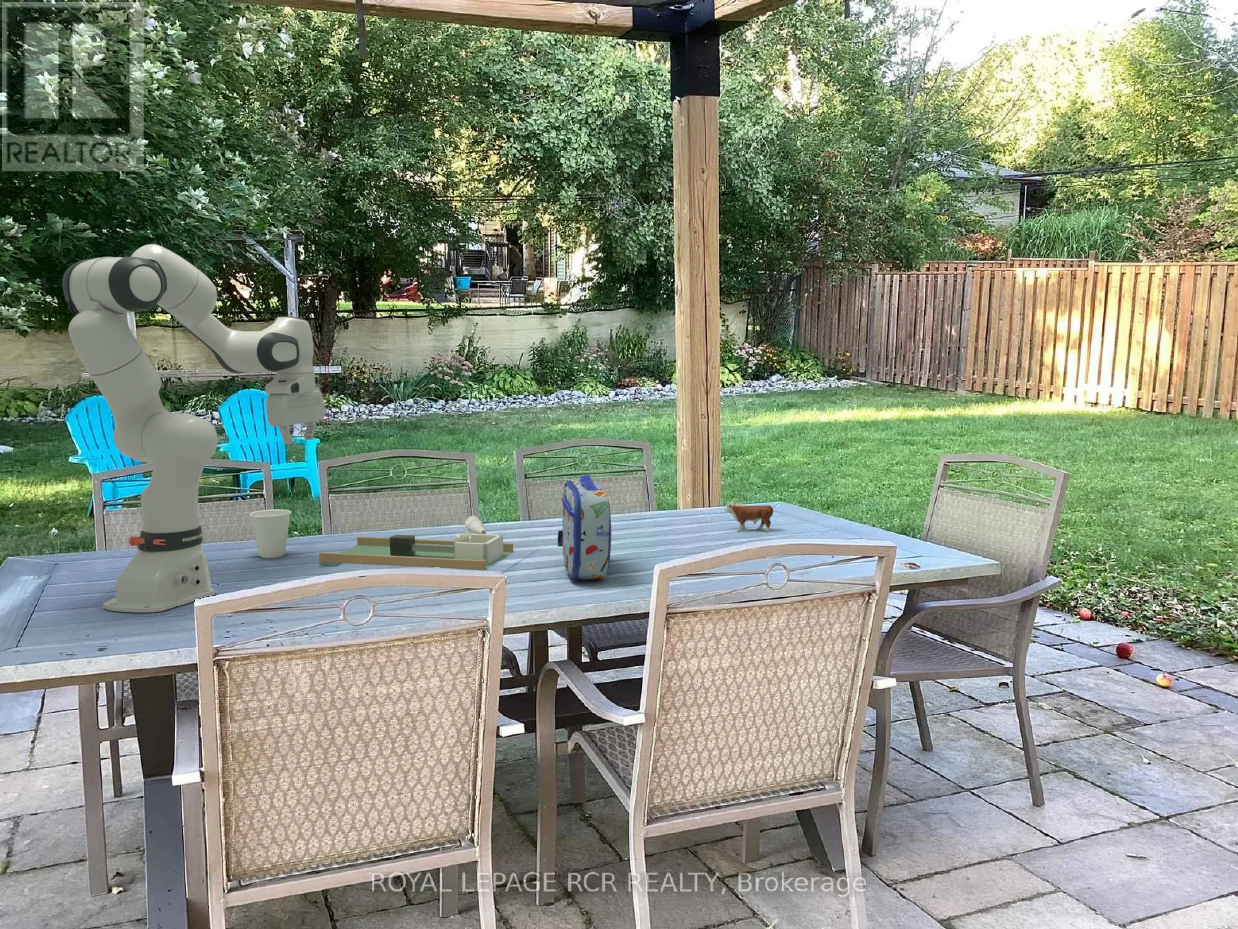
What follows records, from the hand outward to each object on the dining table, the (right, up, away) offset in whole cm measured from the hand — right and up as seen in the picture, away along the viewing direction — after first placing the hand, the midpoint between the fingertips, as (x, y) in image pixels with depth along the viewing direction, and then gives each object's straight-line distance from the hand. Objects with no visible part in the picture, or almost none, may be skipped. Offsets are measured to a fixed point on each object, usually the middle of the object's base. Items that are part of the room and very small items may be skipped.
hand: (298, 442), depth 243 cm
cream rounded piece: (+39, -27, +20) cm, 51 cm away
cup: (-9, -29, +8) cm, 31 cm away
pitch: (+29, -29, +2) cm, 41 cm away
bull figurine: (+114, -24, +36) cm, 122 cm away
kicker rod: (+31, -28, +1) cm, 42 cm away
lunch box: (+70, -31, -11) cm, 77 cm away
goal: (+44, -29, -1) cm, 53 cm away
